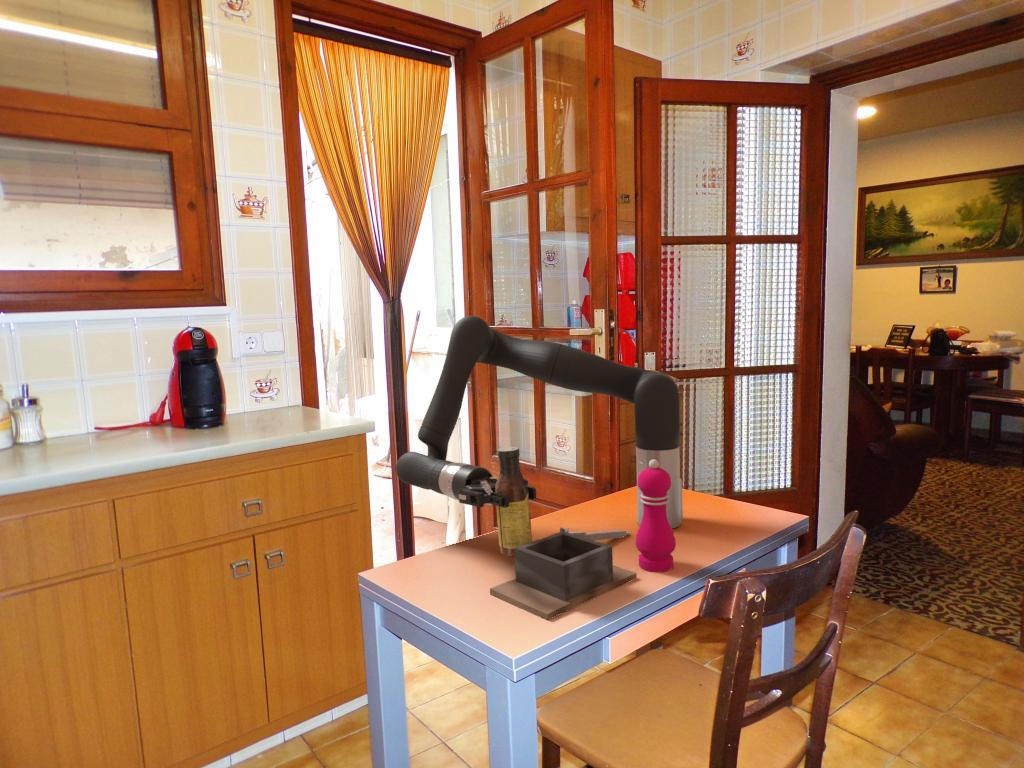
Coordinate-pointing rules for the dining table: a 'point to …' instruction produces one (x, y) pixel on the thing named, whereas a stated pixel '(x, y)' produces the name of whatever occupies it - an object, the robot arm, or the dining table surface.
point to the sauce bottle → (512, 503)
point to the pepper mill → (655, 520)
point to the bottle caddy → (561, 574)
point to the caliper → (598, 534)
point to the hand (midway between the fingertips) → (521, 497)
